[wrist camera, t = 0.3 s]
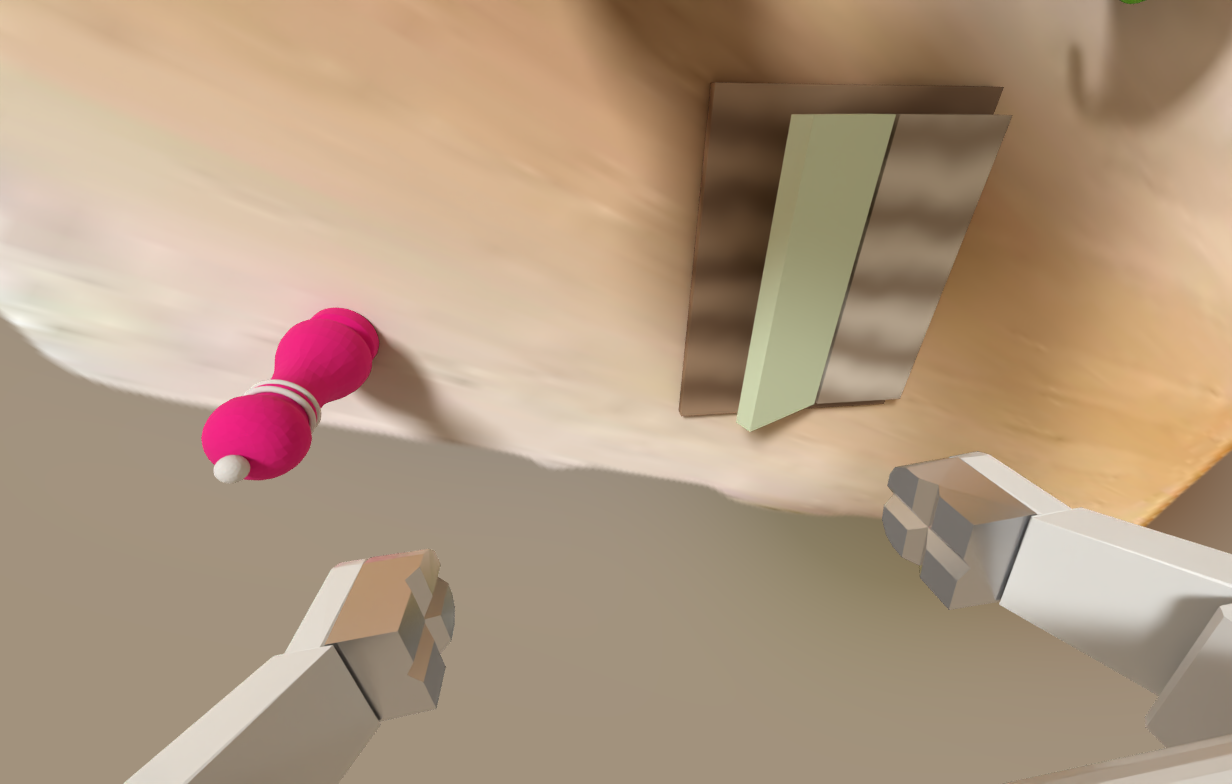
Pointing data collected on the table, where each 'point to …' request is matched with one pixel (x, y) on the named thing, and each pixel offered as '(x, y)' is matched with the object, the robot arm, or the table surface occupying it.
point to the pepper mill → (290, 397)
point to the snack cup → (1132, 1)
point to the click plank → (810, 258)
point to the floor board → (753, 210)
